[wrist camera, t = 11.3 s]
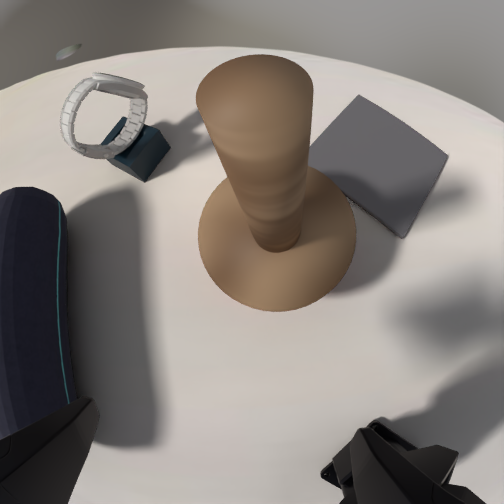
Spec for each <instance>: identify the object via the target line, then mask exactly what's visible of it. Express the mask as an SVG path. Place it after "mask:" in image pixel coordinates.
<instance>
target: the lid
mask: <svg viewBox="0 0 504 504" xmlns="http://www.w3.org/2000/svg"><path fill="white" fill-rule="evenodd" d="M196 104H197V107H198V110H199V112H200V114H201V117H202V119H203V121H204V123H205V126H206V128H207V130H208V133H209V135H210V137H211V140H212V142H213V144H214V146H215V149H216V151H217V153H218V156H219V158H220V160H221V163H222V165H223V167H224V170H225V172H226V174H227V178H226V179H225V180H223V181H222V182H221V183H220V184H219V185H218V186H217V188H216V189H215V190H214V191H213V193H212V194H211V196H210V197H209V199H208V200H207V202H206V204H205V207H204V209H203V211H202V215H201V218H200V222H199V228H198V243H199V250H200V255H201V258H202V261H203V264H204V266H205V268H206V270H207V272H208V274H209V276H210V277H211V278H212V280H213V281H214V282H215V284H216V285H217V286H218V287H219V288H220V289H221V290H222V291H223V292H224V293H226V294H227V295H228V296H230V297H231V298H232V299H234V300H236V301H238V302H240V303H241V304H244V305H246V306H249V307H251V308H255V309H259V310H263V311H272V312H281V311H290V310H296V309H299V308H302V307H305V306H308V305H310V304H312V303H314V302H316V301H317V300H319V299H320V298H322V297H323V296H325V295H326V294H327V293H329V292H330V291H331V290H332V289H333V288H334V287H335V286H336V285H337V284H338V283H339V281H340V280H341V279H342V278H343V276H344V274H345V273H346V271H347V269H348V267H349V265H350V263H351V261H352V258H353V254H354V251H355V244H356V226H355V219H354V216H353V212H352V209H351V207H350V204H349V202H348V200H347V199H346V197H345V195H344V194H343V192H342V191H341V190H340V188H339V187H338V186H337V185H336V184H335V183H334V182H333V181H332V180H331V179H330V178H328V177H327V176H326V175H325V174H323V173H322V172H320V171H318V170H317V169H315V168H312V167H310V166H308V158H309V146H310V134H311V121H312V106H313V83H312V80H311V78H310V76H309V75H308V73H307V72H306V71H305V70H304V69H303V68H302V67H301V66H299V65H298V64H296V63H295V62H293V61H291V60H288V59H286V58H283V57H279V56H273V55H263V54H262V55H248V56H242V57H238V58H235V59H232V60H229V61H227V62H225V63H223V64H221V65H219V66H217V67H216V68H215V69H213V70H212V71H211V72H209V73H208V74H207V75H206V76H205V78H204V79H203V80H202V82H201V83H200V85H199V87H198V89H197V93H196Z"/></svg>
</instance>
